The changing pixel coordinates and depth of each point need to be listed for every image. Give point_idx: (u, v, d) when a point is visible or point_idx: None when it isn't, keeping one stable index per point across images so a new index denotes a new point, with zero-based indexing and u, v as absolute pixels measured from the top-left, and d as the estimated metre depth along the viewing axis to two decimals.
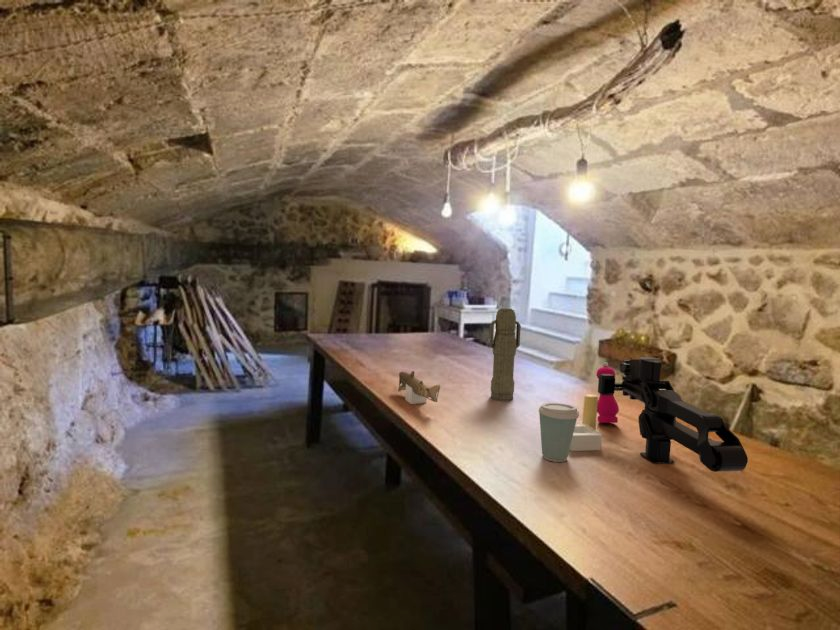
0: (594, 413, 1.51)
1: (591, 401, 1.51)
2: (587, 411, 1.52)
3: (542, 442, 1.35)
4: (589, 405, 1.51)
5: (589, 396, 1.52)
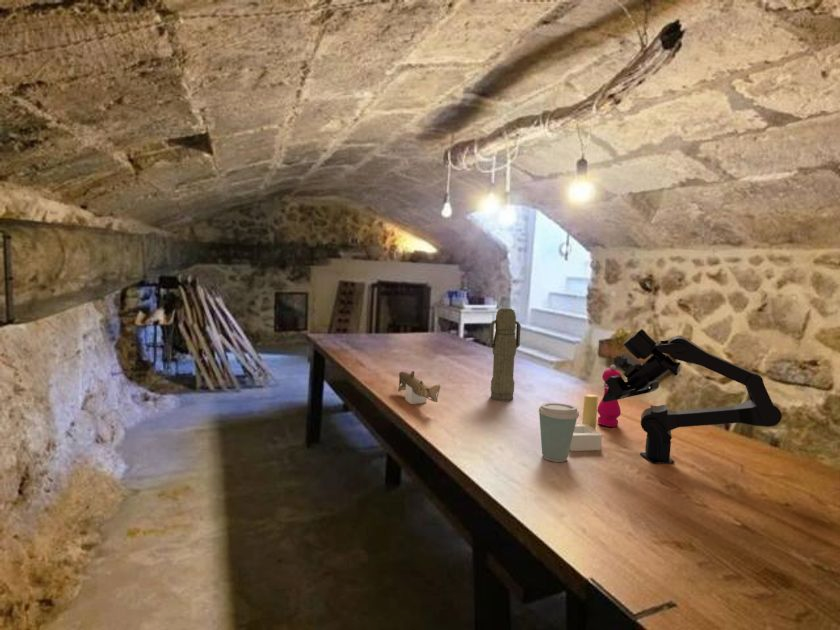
0: (594, 413, 1.51)
1: (591, 401, 1.51)
2: (587, 411, 1.52)
3: (542, 442, 1.35)
4: (589, 405, 1.51)
5: (589, 396, 1.52)
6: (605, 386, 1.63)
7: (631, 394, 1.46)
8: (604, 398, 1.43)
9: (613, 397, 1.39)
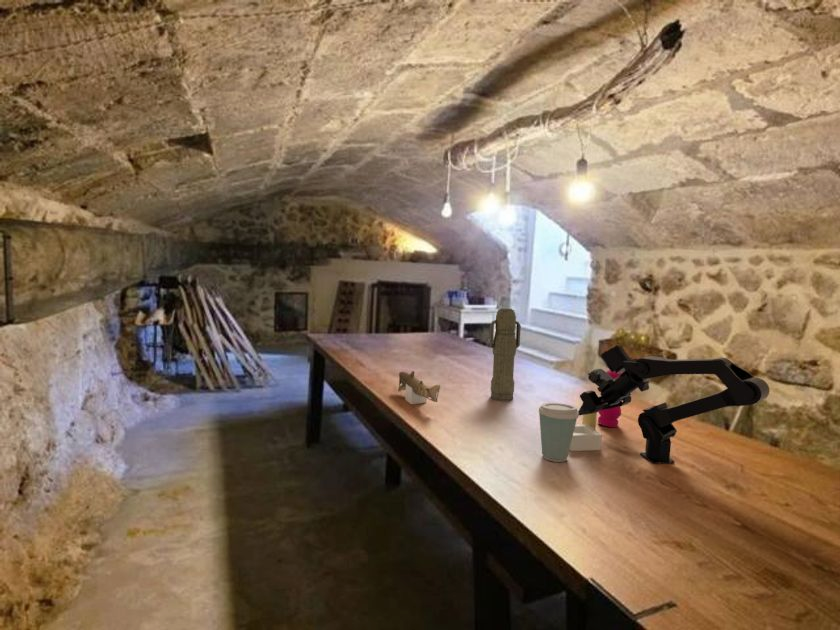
0: (594, 413, 1.51)
1: None
2: None
3: (542, 442, 1.35)
4: None
5: None
6: None
7: (605, 407, 1.54)
8: (579, 411, 1.50)
9: (587, 411, 1.46)
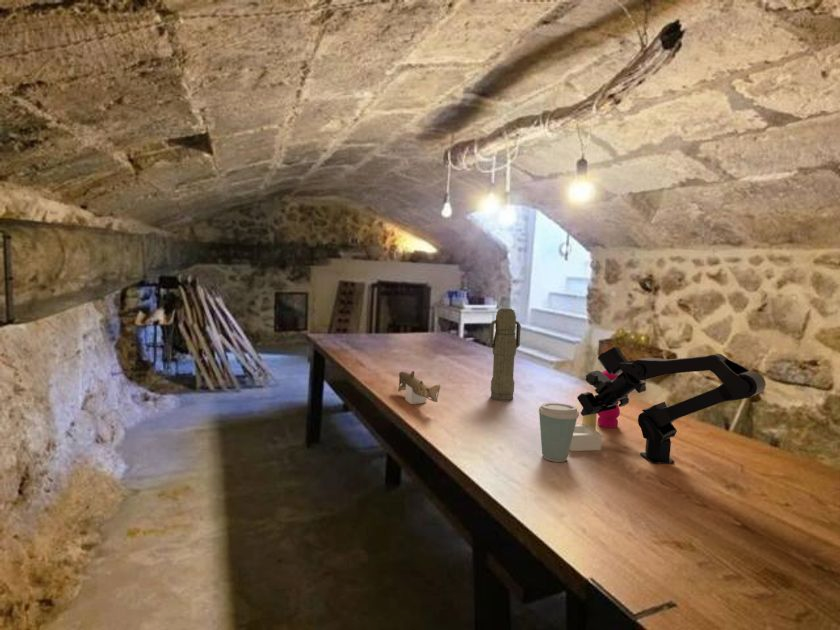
0: None
1: None
2: None
3: (542, 442, 1.35)
4: None
5: None
6: None
7: None
8: (582, 412, 1.52)
9: None
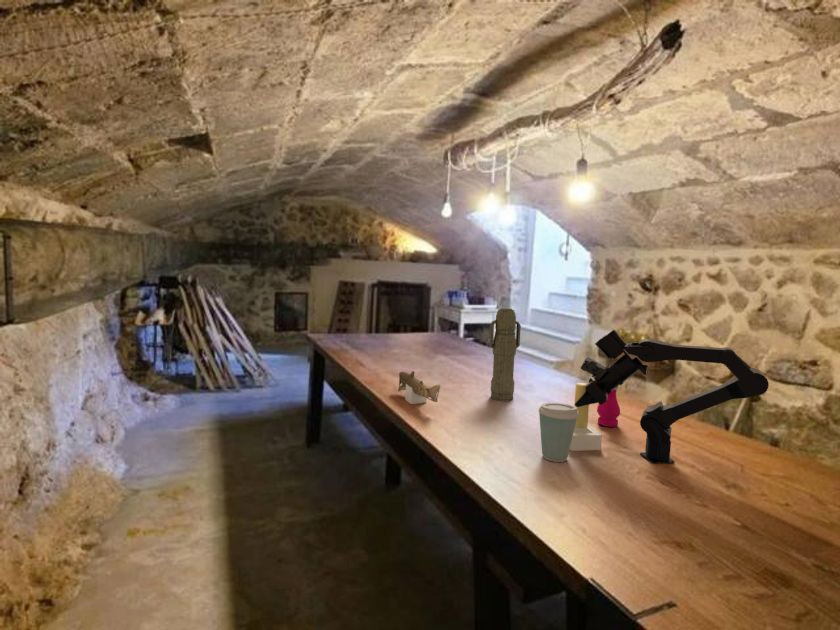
0: None
1: None
2: None
3: (542, 442, 1.35)
4: None
5: (582, 385, 1.43)
6: None
7: None
8: (578, 403, 1.42)
9: (590, 401, 1.40)
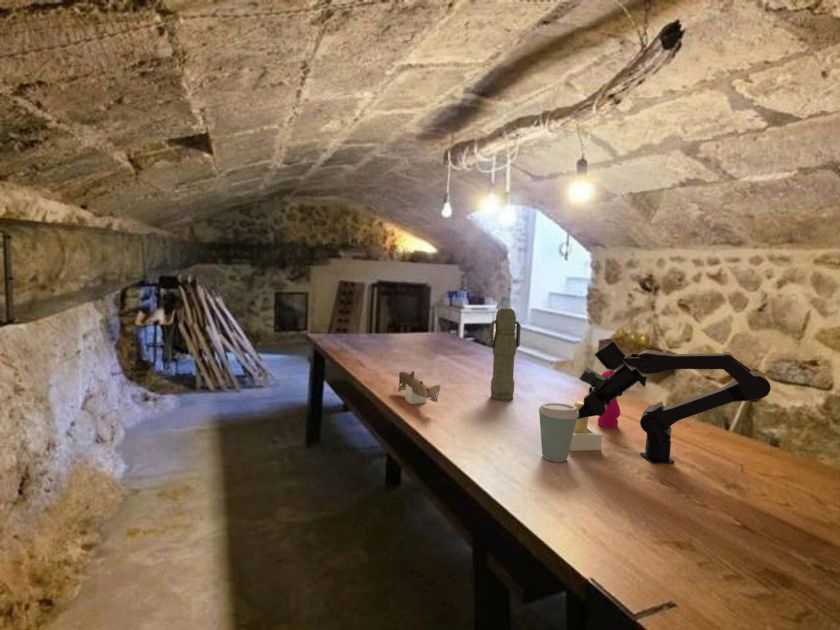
0: (587, 421, 1.44)
1: None
2: (581, 420, 1.43)
3: (542, 442, 1.35)
4: None
5: (581, 404, 1.44)
6: None
7: None
8: None
9: (588, 413, 1.38)
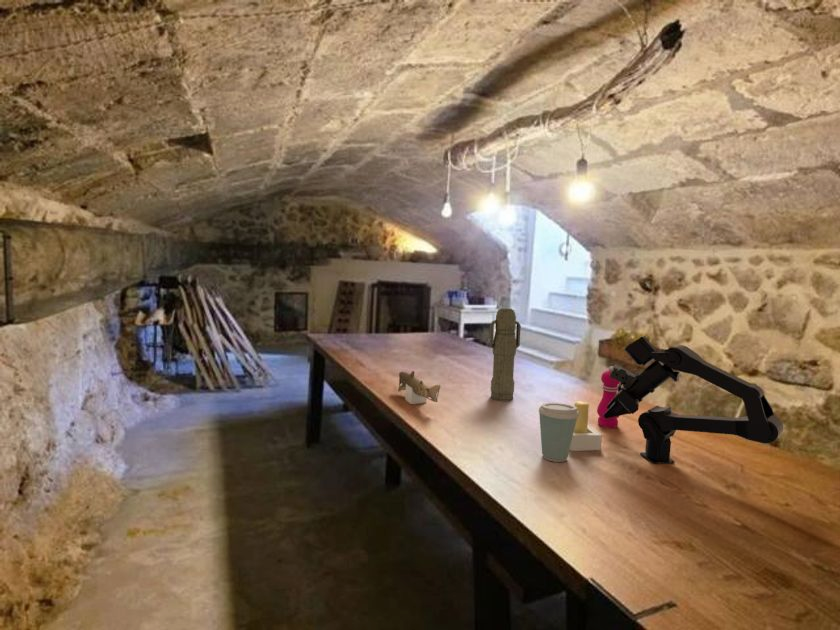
0: (587, 421, 1.44)
1: (585, 409, 1.43)
2: (581, 420, 1.43)
3: (542, 442, 1.35)
4: (584, 413, 1.43)
5: (581, 404, 1.44)
6: (607, 389, 1.60)
7: None
8: (606, 414, 1.37)
9: (620, 412, 1.34)
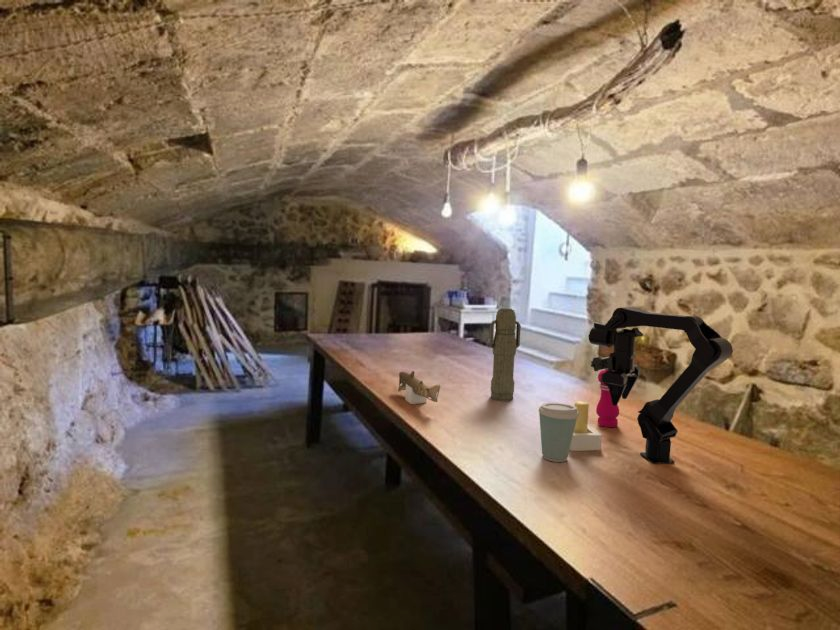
0: (587, 421, 1.44)
1: (585, 409, 1.43)
2: (581, 420, 1.43)
3: (542, 442, 1.35)
4: (584, 413, 1.43)
5: (581, 404, 1.44)
6: (605, 388, 1.61)
7: (628, 389, 1.48)
8: (613, 401, 1.41)
9: (619, 391, 1.39)
